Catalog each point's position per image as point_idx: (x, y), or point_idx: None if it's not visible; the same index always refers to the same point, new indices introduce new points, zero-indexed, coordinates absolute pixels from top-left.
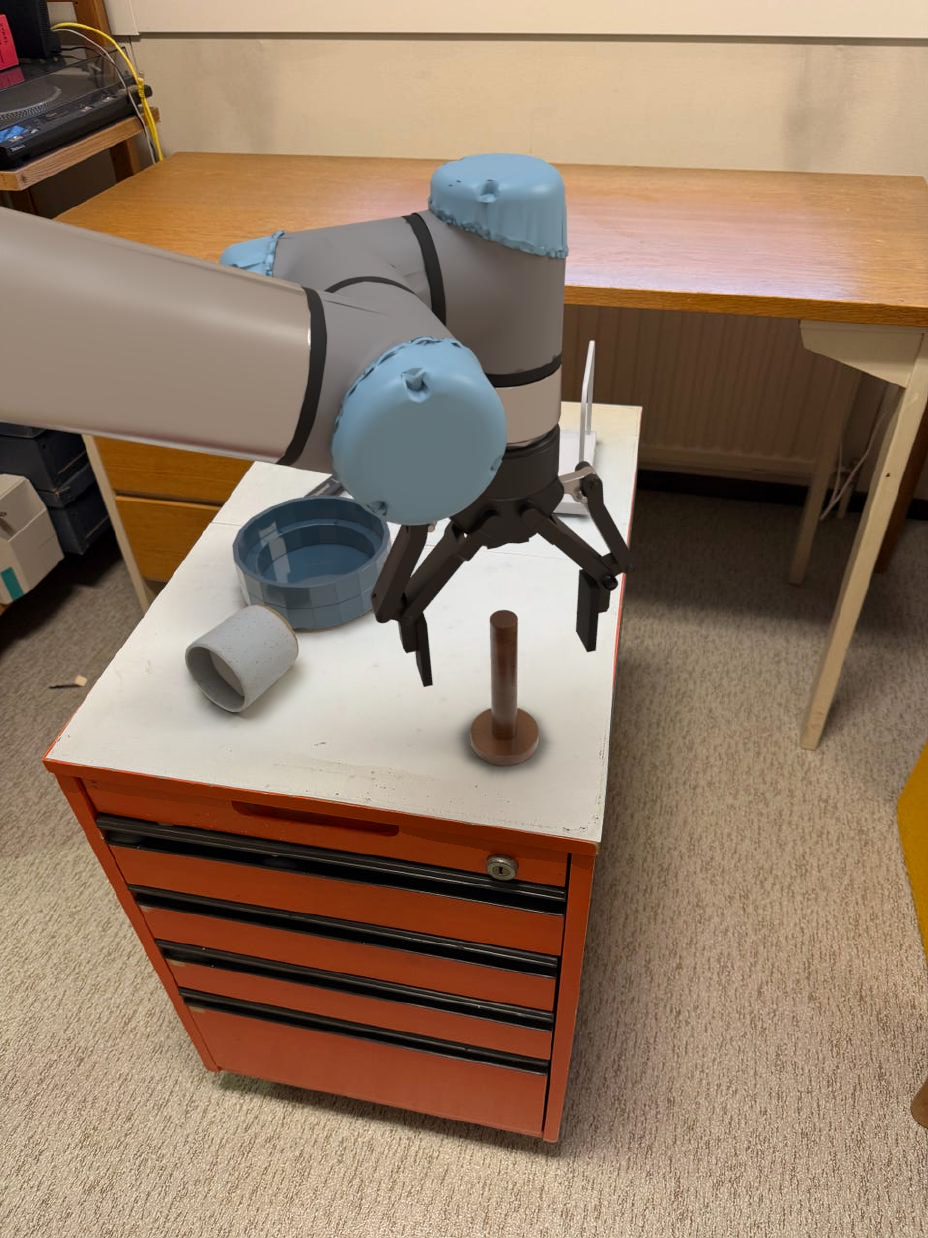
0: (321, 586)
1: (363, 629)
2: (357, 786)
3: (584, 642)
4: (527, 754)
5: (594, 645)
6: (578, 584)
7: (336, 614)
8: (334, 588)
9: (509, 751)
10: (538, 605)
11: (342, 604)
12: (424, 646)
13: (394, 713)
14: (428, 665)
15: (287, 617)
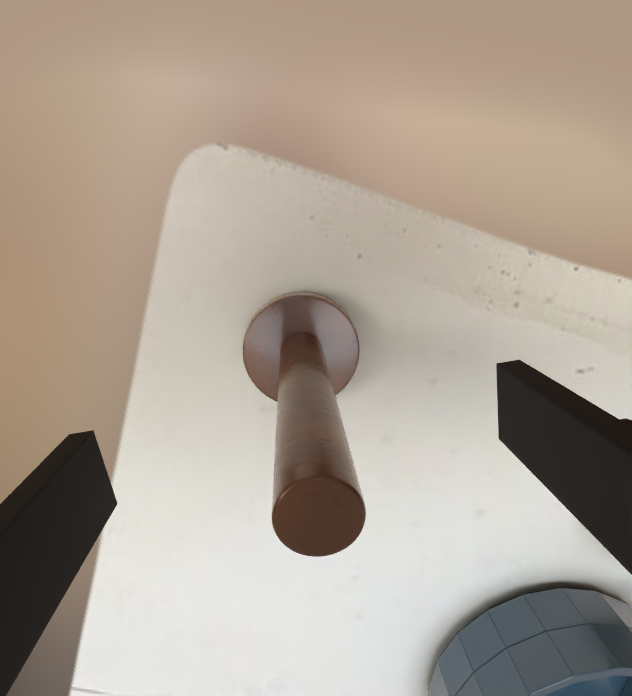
0: (595, 668)
1: (487, 582)
2: (543, 279)
3: (93, 458)
4: (268, 303)
5: (64, 443)
6: (34, 644)
7: (539, 611)
8: (567, 662)
9: (299, 307)
10: (210, 611)
11: (536, 629)
12: (599, 420)
13: (465, 417)
14: (541, 388)
15: (614, 609)
